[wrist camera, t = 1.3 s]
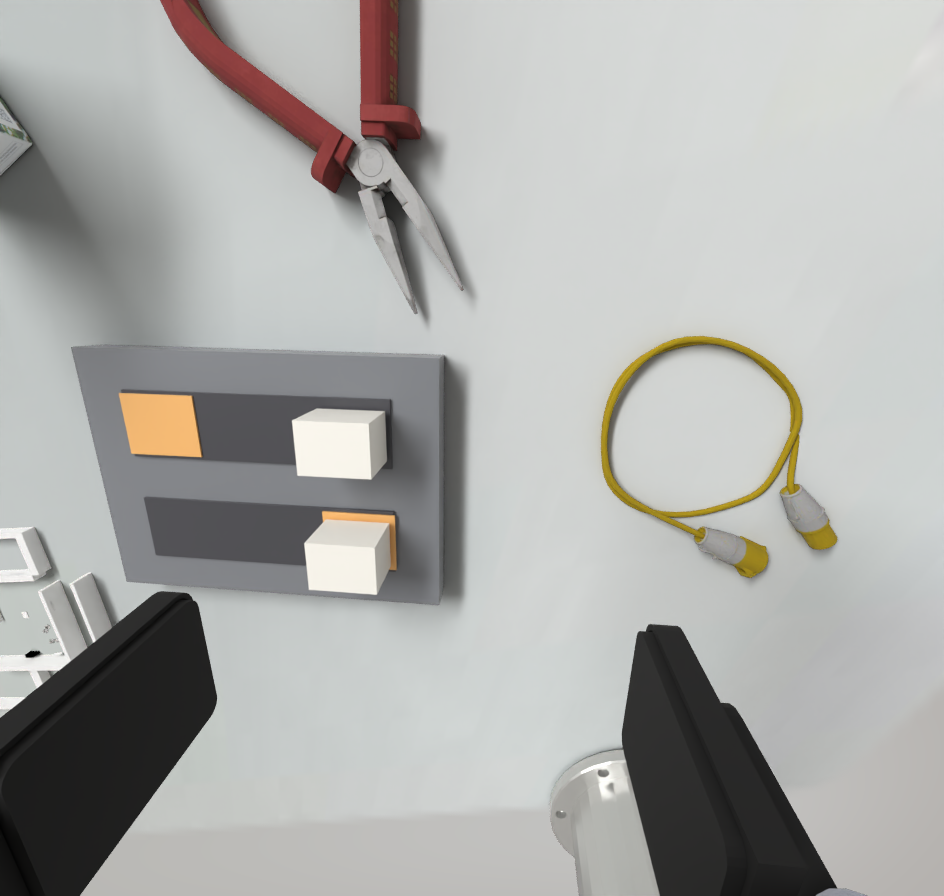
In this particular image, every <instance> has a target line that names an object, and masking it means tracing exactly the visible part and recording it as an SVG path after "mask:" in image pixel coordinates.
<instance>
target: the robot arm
mask: <svg viewBox="0 0 944 896" xmlns="http://www.w3.org/2000/svg"><path fill="white" fill-rule="evenodd" d="M216 702H217V694H216V689H215V684H214V679H213V675H212V670H211V665H210V660H209V655H208V650H207V646H206V641H205V636H204V631H203V626H202V621H201V616H200V612H199V607H198V604H197V603H196V602H195V601H193V599H192V597H191V596H190V595H189V594H187V593H179V592H164V591H161V592H157V593H155V594H154V595H152V596H151V597H150V598H148V599H147V600H146V601H145V602H143V603H142V604H141V605H140V606H138V607H137V608H136V609H135V610H134V611H132V612H131V613H130V614H129V615H127V616H126V617H125V618H124V619H122V620H121V621H120V622H119V623H117V624H116V625H115V626H114V627H112V628H111V629H110V630H109V631H107V632H106V633H105V634H104V635H103V636H101V637H100V638H99V639H98V640H96V641H95V642H94V643H93V644H91V645H90V646H89V647H88V648H86V649H85V650H84V651H83V652H81V653H80V654H79V655H78V656H77V657H75V658H74V659H73V660H72V661H70V662H69V663H68V664H67V665H65V666H64V667H63V668H62V669H60V670H59V671H58V672H57V673H55V674H54V675H53V676H52V677H50V678H49V679H48V680H47V681H46V682H44V683H43V684H42V685H41V686H39V687H38V688H37V689H36V690H34V691H33V692H32V693H31V694H29V695H28V696H27V697H26V698H24V699H23V700H22V701H21V702H20V703H18V704H17V705H16V706H15V707H13V708H12V709H11V710H10V711H8V712H7V713H6V714H5V715H3V716H2V717H1V718H0V896H80V894H81V893H82V892H83V890H84V889H85V888H86V886H87V885H88V884H89V882H90V881H91V880H92V878H93V877H94V875H95V874H96V873H97V871H98V870H99V869H100V867H101V866H102V865H103V863H104V862H105V860H106V859H107V858H108V856H109V855H110V854H111V852H112V851H113V849H114V848H115V847H116V845H117V844H118V843H119V841H120V840H121V839H122V837H123V836H124V834H125V833H126V832H127V830H128V829H129V828H130V826H131V825H132V824H133V822H134V821H135V819H136V818H137V817H138V815H139V814H140V813H141V811H142V810H143V808H144V807H145V806H146V804H147V803H148V802H149V800H150V799H151V798H152V796H153V795H154V793H155V792H156V791H157V789H158V788H159V787H160V785H161V784H162V782H163V781H164V780H165V778H166V777H167V776H168V774H169V773H170V772H171V770H172V769H173V767H174V766H175V765H176V763H177V762H178V761H179V759H180V758H181V757H182V755H183V754H184V752H185V751H186V750H187V748H188V747H189V746H190V744H191V743H192V741H193V740H194V739H195V737H196V736H197V735H198V733H199V732H200V731H201V729H202V728H203V726H204V725H205V724H206V722H207V721H208V720H209V718H210V717H211V715H212V714H213V712H214V709H215V706H216ZM622 745H623V750H612V751H607V752H602V753H598V754H596V755H593V756H590V757H587V758H585V759H583V760H582V761H580V762H578V763H576V764H574V765H573V766H572V767H571V768H569V769H568V770H567V771H566V772H565V773H563V775H562V776H561V777H560V779H559V780H558V781H557V782H556V784H555V786H554V789H553V791H552V793H551V798H550V820H551V825H552V829H553V832H554V834H555V836H556V838H557V840H558V842H559V843H560V844H561V845H562V846H563V848H564V849H565V850H566V851H567V852H568V853H569V854H571V855H572V856H573V857H574V858H575V866H576V874H577V884H578V893H579V896H867V895H864V894H861V893H858V892H855V891H852V890H849V889H837V887H836V885H835V883H834V881H833V880H832V878H831V876H830V875H829V872H828V871H827V869H826V868H825V865H824V864H823V862H822V860H821V858H820V856H819V855H818V853H817V851H816V849H815V848H814V846H813V844H812V842H811V841H810V839H809V837H808V835H807V833H806V831H805V830H804V828H803V826H802V824H801V823H800V821H799V819H798V818H797V815H796V814H795V812H794V810H793V808H792V806H791V805H790V803H789V801H788V799H787V798H786V796H785V794H784V792H783V790H782V789H781V787H780V785H779V783H778V781H777V780H776V778H775V776H774V774H773V773H772V771H771V769H770V767H769V765H768V764H767V762H766V760H765V758H764V756H763V755H762V753H761V751H760V749H759V748H758V746H757V744H756V742H755V740H754V739H753V737H752V735H751V733H750V731H749V730H748V728H747V726H746V724H745V723H744V721H743V719H742V717H741V716H740V714H739V713H738V711H737V710H736V708H735V707H733V706H732V705H731V704H729V703H720V701H719V699H718V697H717V695H716V693H715V691H714V689H713V687H712V686H711V684H710V682H709V680H708V678H707V676H706V674H705V672H704V670H703V668H702V667H701V665H700V663H699V661H698V659H697V657H696V655H695V653H694V651H693V650H692V648H691V646H690V644H689V642H688V640H687V638H686V636H685V634H684V633H683V631H682V629H681V628H680V627H678V626H668V625H653V624H650V625H648V627H647V629H646V632H643V631H639V632H638V634H637V639H636V645H635V651H634V658H633V664H632V671H631V677H630V684H629V690H628V696H627V703H626V709H625V716H624V722H623V728H622Z"/></svg>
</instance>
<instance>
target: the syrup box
mask: <svg viewBox="0 0 944 896" xmlns="http://www.w3.org/2000/svg"><path fill="white" fill-rule="evenodd" d="M31 145H32V141H31V140H30V138H29V137H28V135H27V134H26V132H25V131H24V130H23V128H22V127H21V125H20V124H19V123H18V121H17V120H16V119H15V117H14V116H13V114H12V113H11V112H10V110H9V109H8V108H7V106H6V105H5V103H4V102H3V100H2V99H1V98H0V175H1V174H2V173H3V172H4V171H5V170H6V169H8V168H9V167H10V166H11V165H12V164H13V163H14V162H15V161H16V160H17V159H18V158H19V157H20V156H21V155H22V154H23V153H24V152H25V151H26V150H27V149H28V148H29V147H30V146H31Z"/></svg>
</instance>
